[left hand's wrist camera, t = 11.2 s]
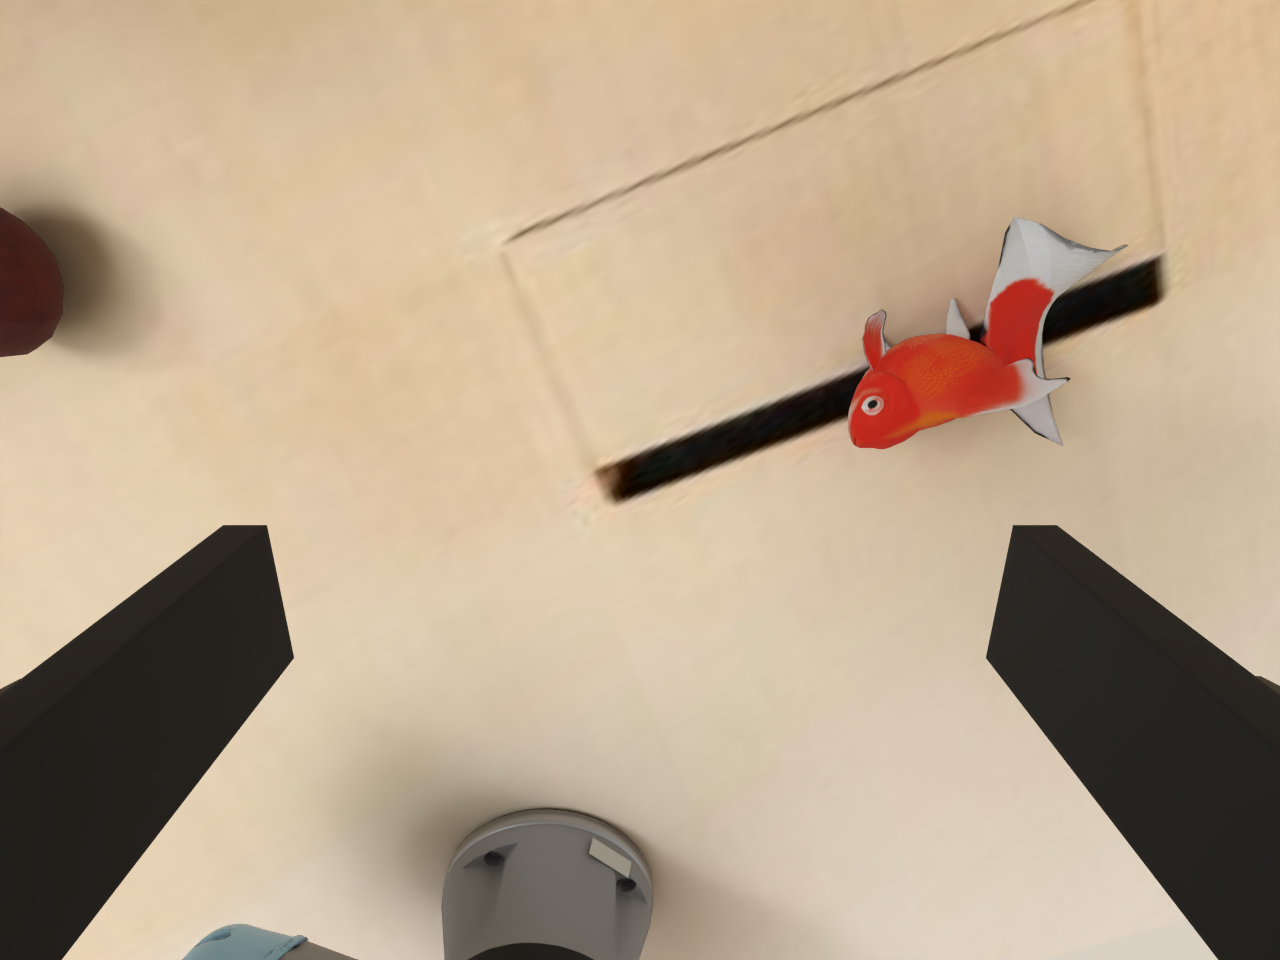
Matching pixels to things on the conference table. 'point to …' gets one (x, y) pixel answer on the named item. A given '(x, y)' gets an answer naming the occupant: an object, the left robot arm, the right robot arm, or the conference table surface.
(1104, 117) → the conference table surface
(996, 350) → the fish
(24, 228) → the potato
